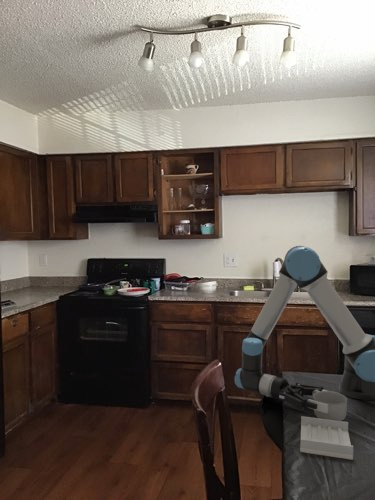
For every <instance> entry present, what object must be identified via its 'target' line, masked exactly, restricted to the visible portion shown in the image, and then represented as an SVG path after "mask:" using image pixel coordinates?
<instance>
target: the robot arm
mask: <svg viewBox="0 0 375 500" xmlns="http://www.w3.org/2000/svg"><path fill="white" fill-rule="evenodd" d="M328 272H329V271H328V270H327V268H326V267H325V266H324V264H323V263H322V261H321V259H320V256H319V255H318V253H317V252H316V251H315V250H314V249H313V248H310V247H309V246H304V245H296V246H295V245H294V246H293V247H291V248H290V249H289V250H288V251H287V252H286V254H285V255H284V259H283V263H282V265H281V267H280V269H279V271H278V275H279V276H278V278H277V281H276V282H275V284H274V286H273V288H272V289H271V291H270V293H269V296H268V297H267V299H266V301H265V303H264V304H263V307H262V309H261V310H260V313H259V314H258V316H257V318H256V320H255V322H254V324H253V326H252V327H251V330H250V331H249V333H248V335H247V337H246V338H244V339H243V340H242V345H241V367H239V368H238V369H237V370H236V372H235V375H234V384H235V386H237V388H239V389H243V390H245V391H249V392H251V393H256V394H260V395H262V396H266V397H267V398H269V397H270V398H273V399H276V400H279V401H283V402H285V403H287V404H289V405H291V406H293V407H295V408H297V409H299V410H303V411H307V410H308V409H311V410H313V411H314V410H317V411H321V412H324V413H328V404H325V403H321V402H318V401H314V400H313V399H310V398H308V399H306V398H305V397H304V396H310V397H313V396H312V393H313V391H314V390H319V391H328V390H326V389H324V388H325V387H324V386H322V385H321V386H319V385H313V384H307V383H306V384H305V383H300V382H295V384H289V381H288V379H286V378H283V377H279V376H276V375H272V374H269V373H263V372H262V371H263V351H264V347H265V345H266V343H267V341H268V339H269V337H270V336H271V333H272V331H273V330H274V328H275V327H276V325H277V323H278V321H279V319H280V317H281V316H282V314H283V312H284V310H285V308H286V306H287V304H288V302H289V301H290V299H291V297H292V295H293V293H294V291H295V290H296V288H297V287H298V288H299V290H303V291H305V292H306V293H307V295H309V296H310V298H311V299H312V302H313V303H314V304H315V306H316V307H317V309H318V310H319V311H320V314H321V315H322V316H323V318H324V319H325V321H326V322H327V323H328V325H329V327H330V328H331V329H332V330H333V332H334V335H336V337H337V338H338V340H339V341H340V343H341V344H342V346H343V347H342V354H344V368H343V369H344V371H343V374H342V377H341V380H340V382H339V384H338V392H339V393H340V394H343V395H344V396H346V397H348V398H352V399H356V400H360V401H361V400H362V401H374V400H375V335H373V334H368V333H365V332H364V330H363V328H362V327H361V326H360V324H359V323H358V321H357V320H356V318H355V317H354V316H353V314H352V313H351V311H350V310H349V309H348V307H347V305H346V304H345V303H344V301H343V300H342V298H341V297H340V294H338V292H337V291H336V289H335V288H334V286H333V285H332V284H331V282H330V281H329V279H328Z"/></svg>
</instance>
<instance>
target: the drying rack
mask: <svg viewBox="0 0 375 500" xmlns="http://www.w3.org/2000/svg"><path fill="white" fill-rule="evenodd" d="M300 421H301V422H300V426H301V427H300V447H299V451H300V453H307V454H311V455H312V454H313V455H318V456H325V457H333V458H338V459H339V458H340V459H346V460H354V445H352V444H351V439H350V434H349V422H348V421H343V420H342V421H336V420H328V419H320V418H318V417H313V416H312V417H311V416H302V415H301V418H300Z"/></svg>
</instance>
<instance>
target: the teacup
mask: <svg viewBox="0 0 375 500" xmlns="http://www.w3.org/2000/svg"><path fill="white" fill-rule="evenodd" d="M311 397H312V400H314V401H318V402H321V403H325V404H328V413H324V412H321V411H317V410H314V409H313V413H314V415H315V416H316V418H320V419H328V420H336V421H343V420H344V419H345V418H346V416H347V410H348V409H347V407H348V398H347V396H346V395H344V394H342V393H341V392H337V391H332V390H327V391H319V390H314V391H313V393H312V396H311Z"/></svg>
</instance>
